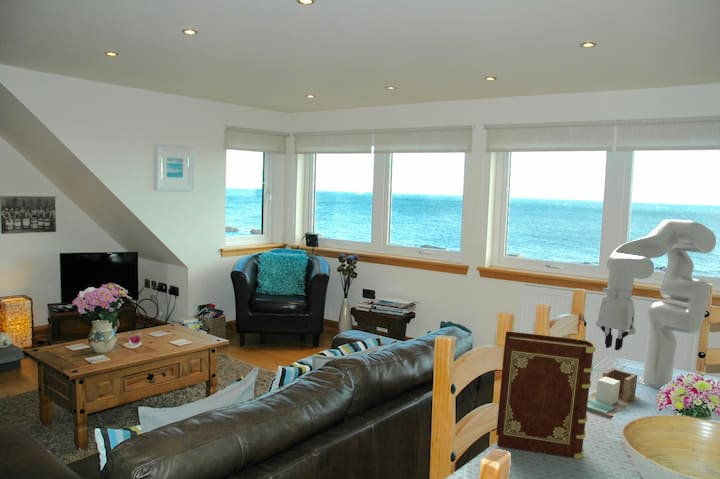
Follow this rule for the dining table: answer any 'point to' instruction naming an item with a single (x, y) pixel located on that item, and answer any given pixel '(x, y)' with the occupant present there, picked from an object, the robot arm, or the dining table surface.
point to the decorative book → (544, 394)
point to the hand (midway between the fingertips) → (613, 347)
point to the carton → (607, 390)
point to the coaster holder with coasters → (624, 397)
